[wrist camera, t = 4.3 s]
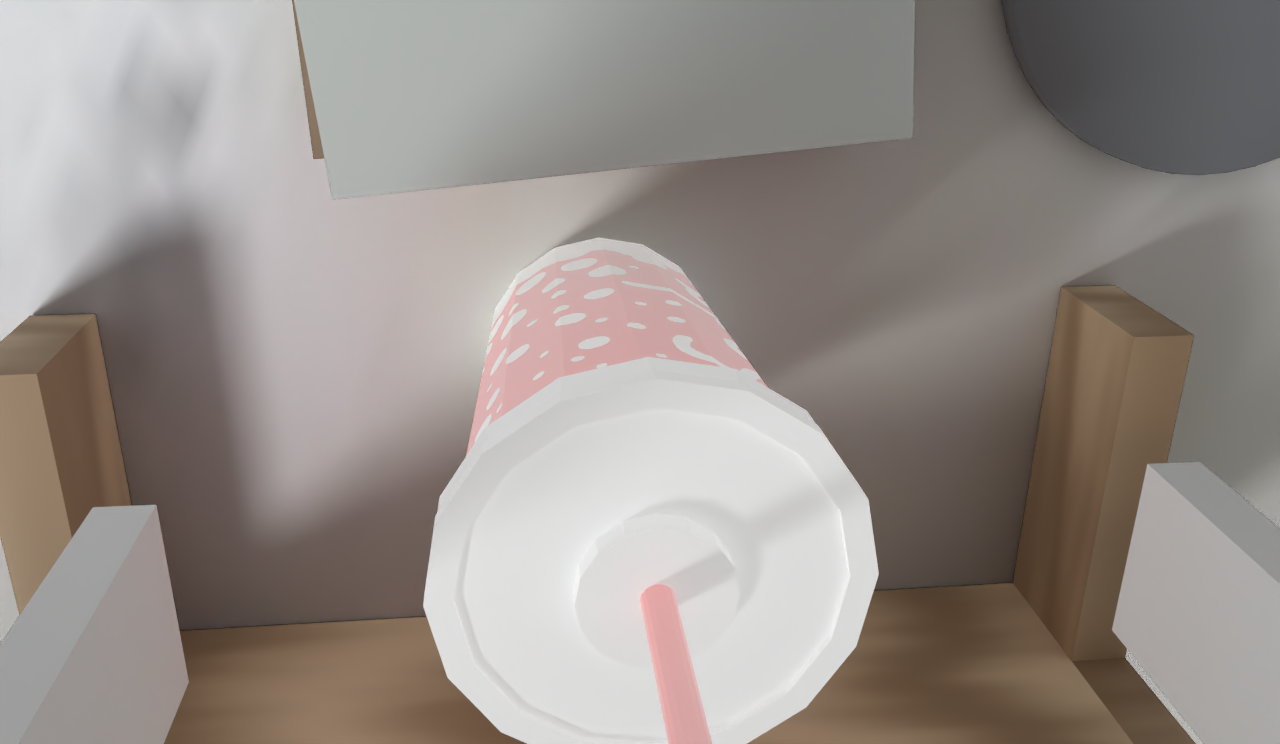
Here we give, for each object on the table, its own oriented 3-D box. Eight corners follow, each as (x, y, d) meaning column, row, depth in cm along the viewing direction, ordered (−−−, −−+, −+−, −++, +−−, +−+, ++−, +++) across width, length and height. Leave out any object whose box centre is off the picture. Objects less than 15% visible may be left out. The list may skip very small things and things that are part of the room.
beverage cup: (787, 408, 24) (1108, 979, 11) (528, 518, 25) (559, 1195, 12) (682, 149, 22) (940, 507, 9) (396, 276, 22) (253, 795, 9)
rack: (107, 680, 25) (-253, 1395, 13) (30, 315, 22) (-550, 828, 10) (1053, 622, 27) (1480, 1181, 15) (1114, 285, 24) (1721, 666, 12)
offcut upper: (352, 164, 19) (333, 199, 17) (298, -130, 17) (267, -134, 15) (865, 109, 20) (912, 137, 18) (865, -179, 18) (918, -189, 16)
